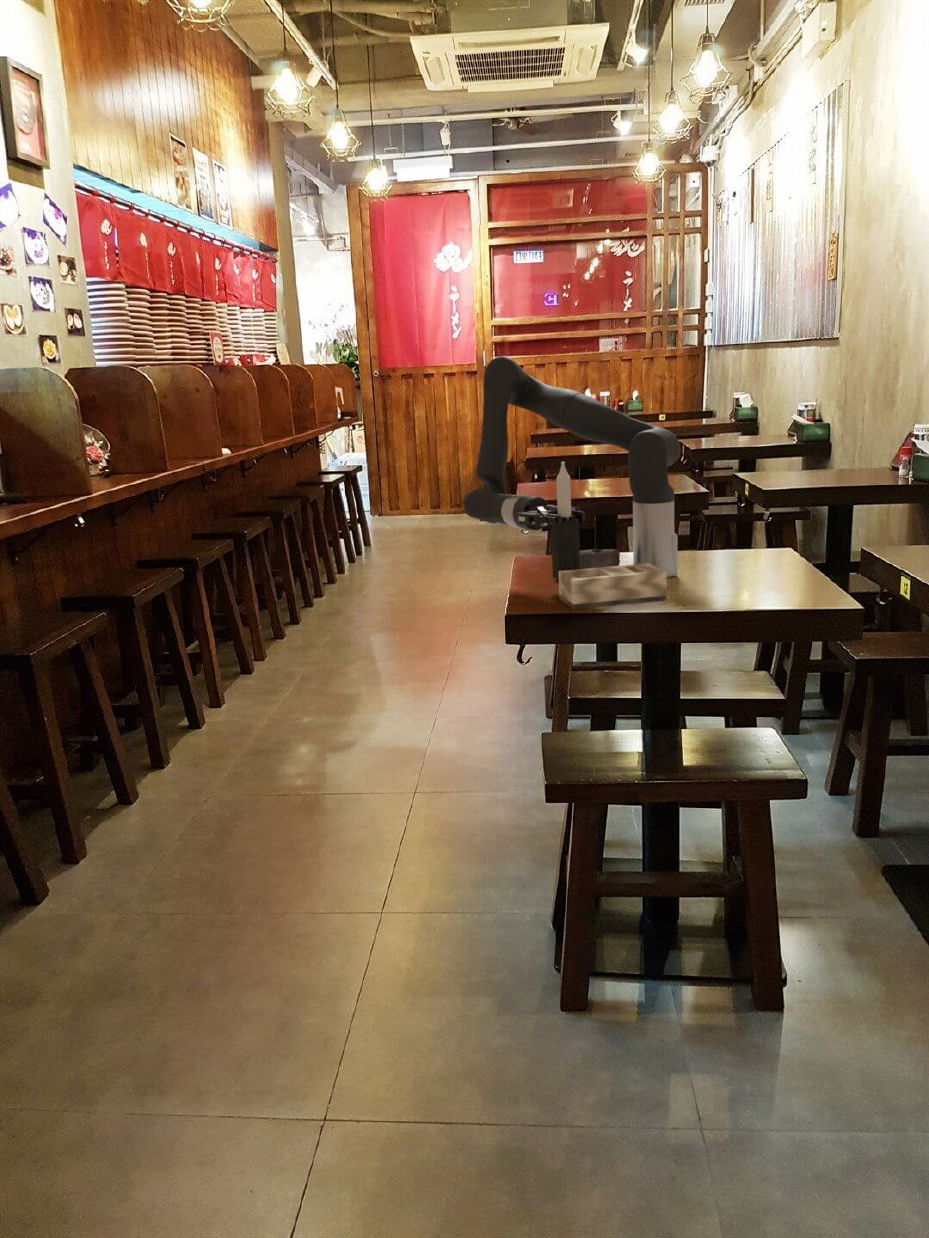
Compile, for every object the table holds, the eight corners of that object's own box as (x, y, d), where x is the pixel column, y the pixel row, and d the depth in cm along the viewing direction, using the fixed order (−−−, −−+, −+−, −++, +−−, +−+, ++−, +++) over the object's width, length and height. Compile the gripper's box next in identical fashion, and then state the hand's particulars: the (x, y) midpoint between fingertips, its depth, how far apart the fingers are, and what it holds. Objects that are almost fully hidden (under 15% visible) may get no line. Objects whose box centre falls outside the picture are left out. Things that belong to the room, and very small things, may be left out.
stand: (648, 590, 209) (648, 563, 207) (666, 600, 199) (666, 571, 198) (559, 598, 205) (558, 571, 204) (573, 609, 195) (573, 580, 194)
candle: (559, 580, 206) (556, 463, 200) (551, 576, 211) (547, 461, 205) (581, 578, 208) (578, 461, 201) (572, 574, 212) (569, 459, 206)
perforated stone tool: (553, 581, 223) (552, 551, 221) (557, 576, 228) (556, 547, 226) (618, 581, 219) (618, 551, 217) (620, 577, 224) (620, 547, 222)
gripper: (498, 499, 213) (544, 505, 199) (549, 491, 221) (597, 497, 207) (499, 532, 215) (545, 541, 201) (551, 524, 222) (598, 532, 209)
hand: (571, 518), depth 204 cm, fingers closed on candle, 5 cm apart
